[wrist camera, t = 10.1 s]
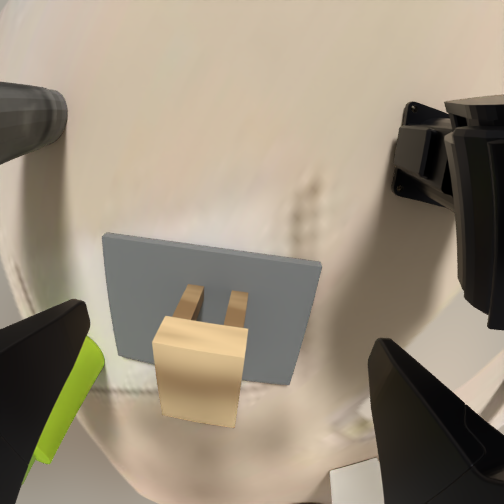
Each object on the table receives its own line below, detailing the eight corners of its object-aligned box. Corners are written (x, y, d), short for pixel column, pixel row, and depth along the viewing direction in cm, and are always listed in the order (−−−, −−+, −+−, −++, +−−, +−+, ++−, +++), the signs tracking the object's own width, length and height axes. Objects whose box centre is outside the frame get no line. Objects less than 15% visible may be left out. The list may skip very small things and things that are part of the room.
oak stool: (243, 360, 24) (234, 428, 18) (184, 351, 25) (162, 414, 18) (253, 289, 22) (244, 357, 15) (184, 279, 22) (152, 342, 15)
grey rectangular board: (320, 261, 21) (322, 266, 21) (289, 378, 26) (289, 385, 25) (106, 232, 22) (101, 236, 21) (121, 350, 26) (118, 355, 26)
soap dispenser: (81, 377, 29) (7, 512, 11) (50, 329, 27) (-49, 467, 8) (118, 377, 28) (45, 536, 10) (86, 326, 26) (-21, 493, 7)
